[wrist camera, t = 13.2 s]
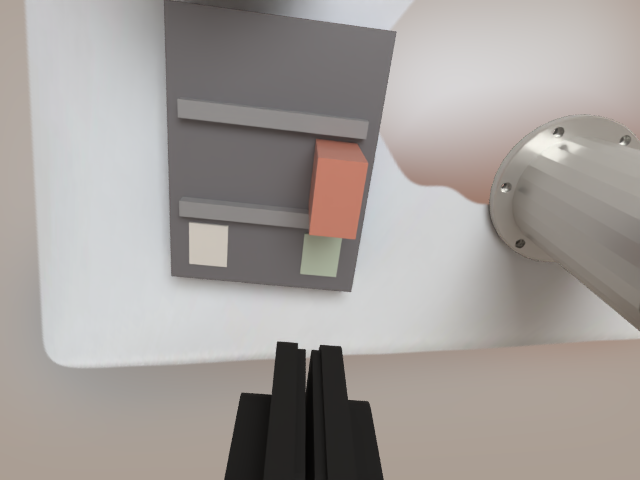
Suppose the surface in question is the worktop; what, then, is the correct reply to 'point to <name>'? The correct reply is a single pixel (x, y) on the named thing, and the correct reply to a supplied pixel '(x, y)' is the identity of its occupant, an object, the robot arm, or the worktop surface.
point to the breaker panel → (264, 139)
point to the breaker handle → (336, 189)
